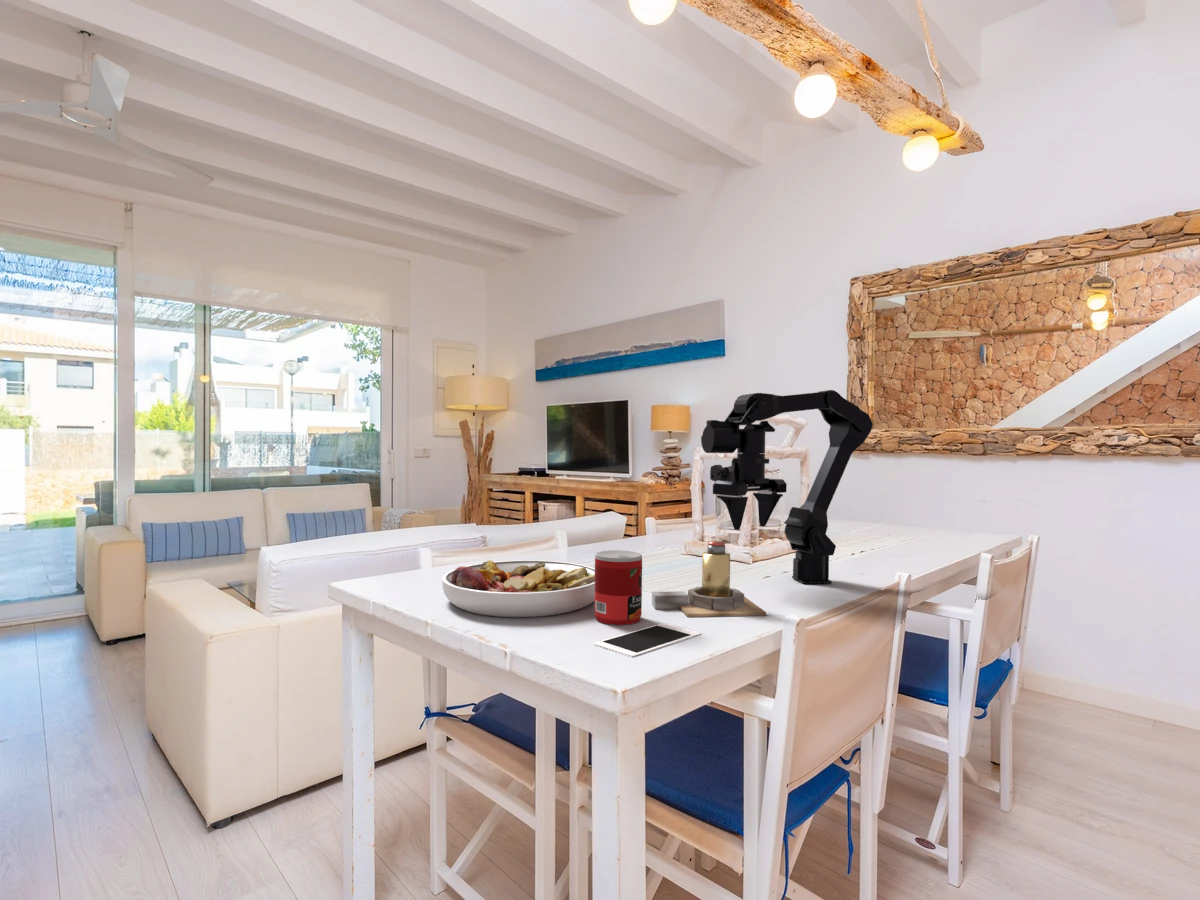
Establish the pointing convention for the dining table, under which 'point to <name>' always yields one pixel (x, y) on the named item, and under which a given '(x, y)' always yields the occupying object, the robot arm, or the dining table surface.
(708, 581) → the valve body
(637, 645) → the cell phone
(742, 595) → the socket
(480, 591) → the bowl
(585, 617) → the dining table surface
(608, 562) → the canned food
